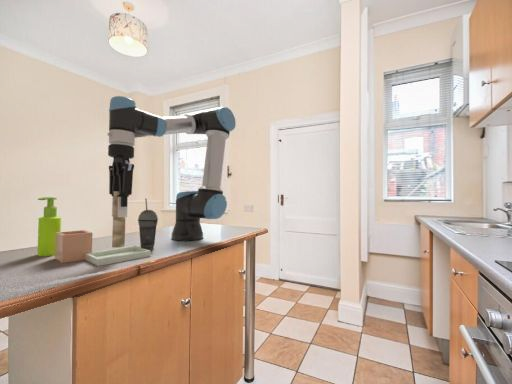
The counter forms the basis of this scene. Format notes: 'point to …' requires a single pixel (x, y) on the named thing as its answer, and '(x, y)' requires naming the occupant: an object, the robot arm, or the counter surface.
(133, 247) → the tray
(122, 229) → the dowel
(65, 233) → the pot
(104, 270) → the counter surface
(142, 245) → the beverage cup
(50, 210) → the soap dispenser
